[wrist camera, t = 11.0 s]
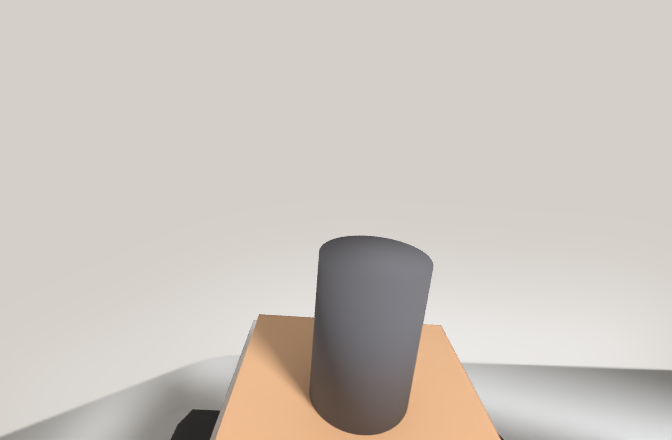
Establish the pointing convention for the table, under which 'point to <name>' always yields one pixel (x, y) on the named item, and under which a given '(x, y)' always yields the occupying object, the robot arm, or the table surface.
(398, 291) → the orange bottle
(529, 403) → the table surface
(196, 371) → the table surface
